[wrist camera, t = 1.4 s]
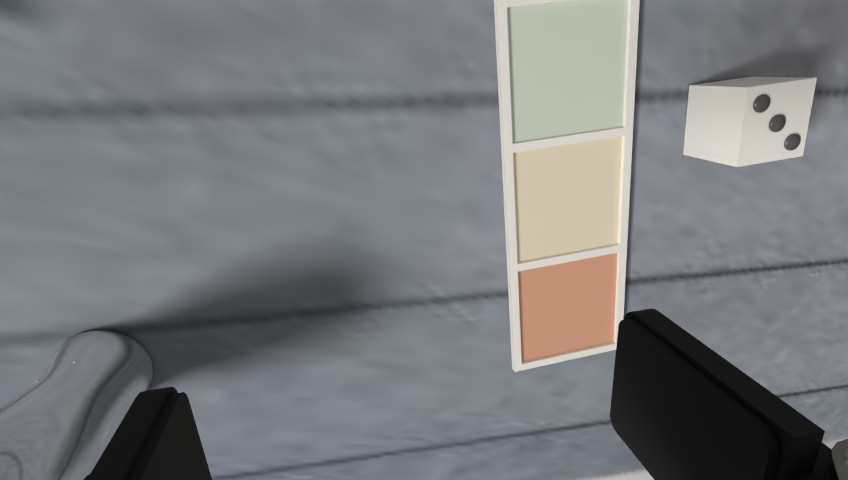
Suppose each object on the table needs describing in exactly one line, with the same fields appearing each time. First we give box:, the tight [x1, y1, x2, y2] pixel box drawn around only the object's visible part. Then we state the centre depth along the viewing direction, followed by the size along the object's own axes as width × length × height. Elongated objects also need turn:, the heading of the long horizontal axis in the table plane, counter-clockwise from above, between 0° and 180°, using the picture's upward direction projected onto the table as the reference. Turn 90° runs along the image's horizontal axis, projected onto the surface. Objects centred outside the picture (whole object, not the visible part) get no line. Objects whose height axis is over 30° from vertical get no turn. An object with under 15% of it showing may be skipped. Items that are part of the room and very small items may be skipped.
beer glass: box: [0, 330, 153, 480], centre depth 25 cm, size 7×7×15 cm
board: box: [494, 0, 640, 372], centre depth 33 cm, size 37×10×1 cm, turn 6°
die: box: [683, 77, 817, 167], centre depth 32 cm, size 5×5×5 cm
